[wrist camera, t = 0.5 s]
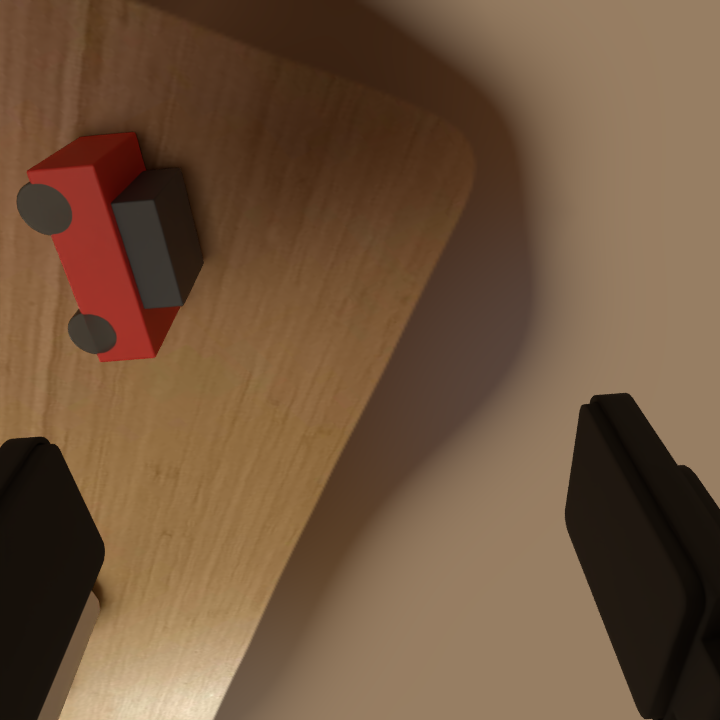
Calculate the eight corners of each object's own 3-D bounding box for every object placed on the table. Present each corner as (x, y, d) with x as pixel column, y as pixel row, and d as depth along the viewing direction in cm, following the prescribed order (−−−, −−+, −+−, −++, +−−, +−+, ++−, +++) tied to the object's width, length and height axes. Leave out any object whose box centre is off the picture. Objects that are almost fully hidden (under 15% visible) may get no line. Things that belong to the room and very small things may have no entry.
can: (87, 552, 39) (-3, 755, 29) (116, 621, 43) (46, 819, 33) (-27, 556, 39) (-157, 760, 29) (12, 624, 43) (-89, 823, 33)
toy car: (59, 138, 25) (1, 172, 21) (174, 127, 25) (139, 160, 20) (118, 307, 29) (80, 364, 25) (215, 299, 29) (193, 355, 25)
